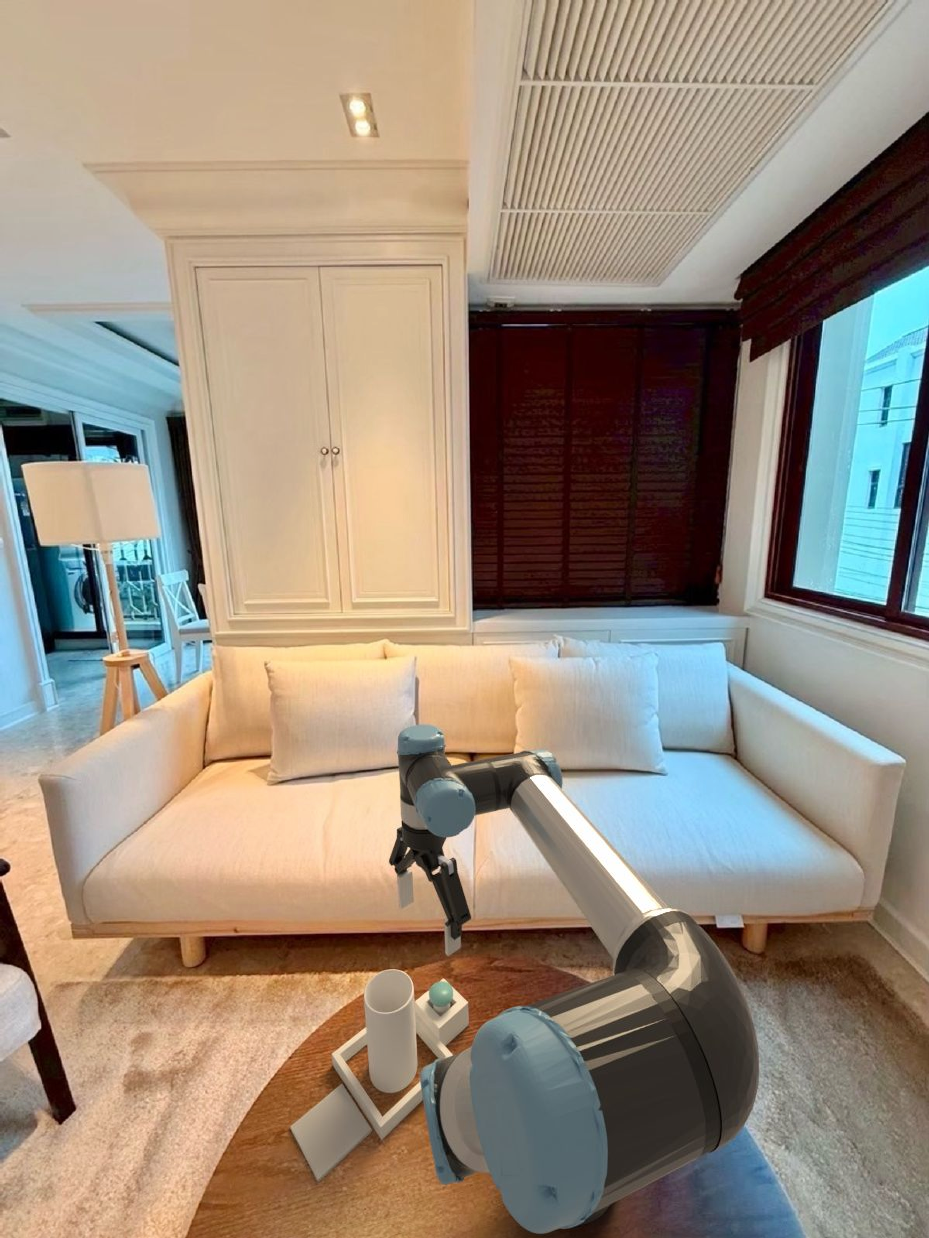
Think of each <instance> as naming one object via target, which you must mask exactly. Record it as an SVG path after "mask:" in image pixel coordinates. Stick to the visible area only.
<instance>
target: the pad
mask: <svg viewBox="0 0 929 1238" xmlns="http://www.w3.org/2000/svg"><path fill="white" fill-rule="evenodd" d="M290 1130H291V1133H292V1134H293V1136H294V1138H295V1141H296V1142H297V1145H298V1146H299V1149H300V1150H301V1152H302V1153H303V1154H302V1155H303V1156H304V1157H305V1159H306V1162H307V1163H308V1166H309V1167H310V1169H311V1172H312V1173H313V1175H314V1177H315V1178H316V1181H317V1183H319V1182H320V1181H321V1180H322V1179H323V1178H324V1177H325V1176H327V1174H329V1172H330V1171H332V1170H333V1169H334V1168H335V1167H336V1166H337V1165H338V1164H339V1163H340V1162H341V1161H342V1160H344V1158H346V1157H347V1156H348V1155H349V1154H350V1153H351V1152H352V1151H353V1150H354V1149H355V1148H356V1147H357V1146H358V1145H359V1144H360V1143H362V1141H363V1140H364V1139H366V1138H367V1136H369V1135H370V1133H371V1134H372V1128H371V1126H370V1124H369V1123H368V1122H367V1120H366V1118H365V1117H364V1116H363V1114H362V1111H360V1109H359V1108H358V1106H357V1104H356V1103H355V1102H354V1100H353V1098H352V1097H351V1096H350V1094H349V1092H348V1091H347V1089H346V1087H345V1086H344V1084H343V1083H340V1084H339V1085H338V1086H337V1087H336V1088H334V1089H333V1090H332V1091H331V1092H330V1093H329V1094H328V1095H327V1094H326V1096H325V1097H324V1098H323V1099H321V1100H320V1101H319V1102H317V1104H315V1105H314V1106H313V1107H312V1108H311V1109H309V1110H308V1111H307V1112H306V1113H304V1114H303V1115H302V1116H301V1117H300V1118H299V1119H297V1120H296V1121H295V1122H293V1124H291V1125H290Z"/></svg>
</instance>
